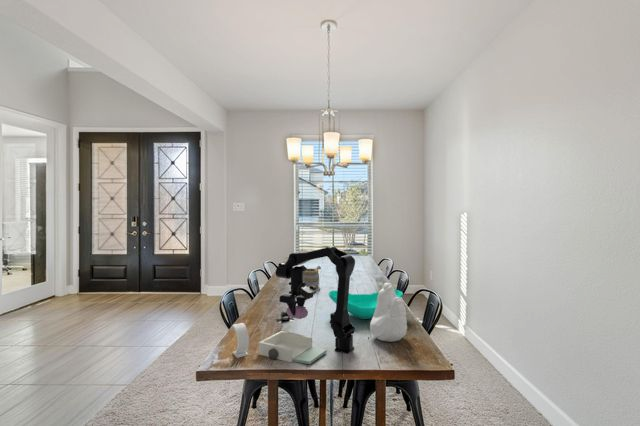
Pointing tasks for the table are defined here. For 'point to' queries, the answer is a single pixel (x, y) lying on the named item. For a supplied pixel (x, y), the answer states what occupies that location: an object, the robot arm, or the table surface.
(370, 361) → the table surface
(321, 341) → the table surface
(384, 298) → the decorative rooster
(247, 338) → the headphone stand
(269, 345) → the wagon bed
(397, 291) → the table top decor
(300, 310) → the dome-topped mauve block
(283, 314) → the black grey mechanical block
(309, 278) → the tankard
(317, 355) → the panel
